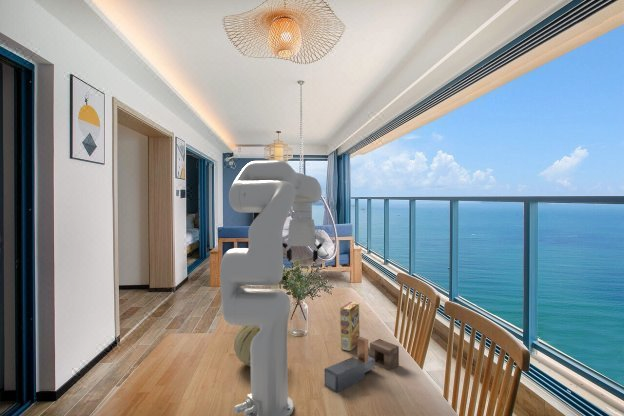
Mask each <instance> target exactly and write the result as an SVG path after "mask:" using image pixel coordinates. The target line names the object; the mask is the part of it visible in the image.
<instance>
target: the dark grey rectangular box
mask: <svg viewBox="0 0 624 416" xmlns="http://www.w3.org/2000/svg"><path fill="white" fill-rule="evenodd" d="M323 371H324V387H326V388H328V389H330V390H331V391H333V392H335V393H338V392H341V391H343V390H344V389H346V388H349V387H351V386H353V385H354V384H357V383H359V382H361V381H363V380H365V379H366V377H365V375H366V374H365V362H363V361H360V360H358V358H356V357H354V356H351V357H350V358H347V359H344V360H342V361H340V362H337V363H335V364H333V365H331V366H328V367H325V368H324V370H323Z"/></svg>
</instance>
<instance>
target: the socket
mask: <svg viewBox="0 0 624 416" xmlns="http://www.w3.org/2000/svg"><path fill="white" fill-rule="evenodd" d="M399 347H400V346H399V345H397V344H393V343H391V342H388V341H387V340H383V339H376V340H374V341H371V342H369V356H370V357H372V358H374V359H375V365H378V366H379V367H381V366H382V367H381V368H384V369H385V370H388V371H390V370H393V369H394V368H396V367H398V366H399V364H400V363H399V361H400V360H399V356H400V355H399V353H400V352H399V351H400V350H399ZM397 365H398V366H397Z"/></svg>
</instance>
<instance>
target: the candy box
mask: <svg viewBox="0 0 624 416" xmlns="http://www.w3.org/2000/svg"><path fill="white" fill-rule="evenodd" d="M339 310H340V311H339V312H340V313H339V314H340V316H339V317H340V323H339V324H340V350H344V351H348V352H351V351H352V350H353V349H354V348H355V347H357V346H358V338H359V337H361V335H360V334H361V333H360V303H359V302H354V301H353V302H352V301H349V302H348V303H347V304H345V305H344V306H341V307H340V309H339Z"/></svg>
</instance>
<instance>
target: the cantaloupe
mask: <svg viewBox="0 0 624 416" xmlns="http://www.w3.org/2000/svg"><path fill="white" fill-rule="evenodd" d="M259 331H260V328H259V327H253V326H240V328H239V329H238V331H237V332H236V334H235V335H234V336H235V337H234V341H233V350H234V352H235V355H236V358H237V359H238V360H239V361H240V362H242V363H243V365H245V366H248V367H250V368H251V356H250V346H251V342H252V339H253V338H254V336H255V335H256V334H257V333H258V332H259Z"/></svg>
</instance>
